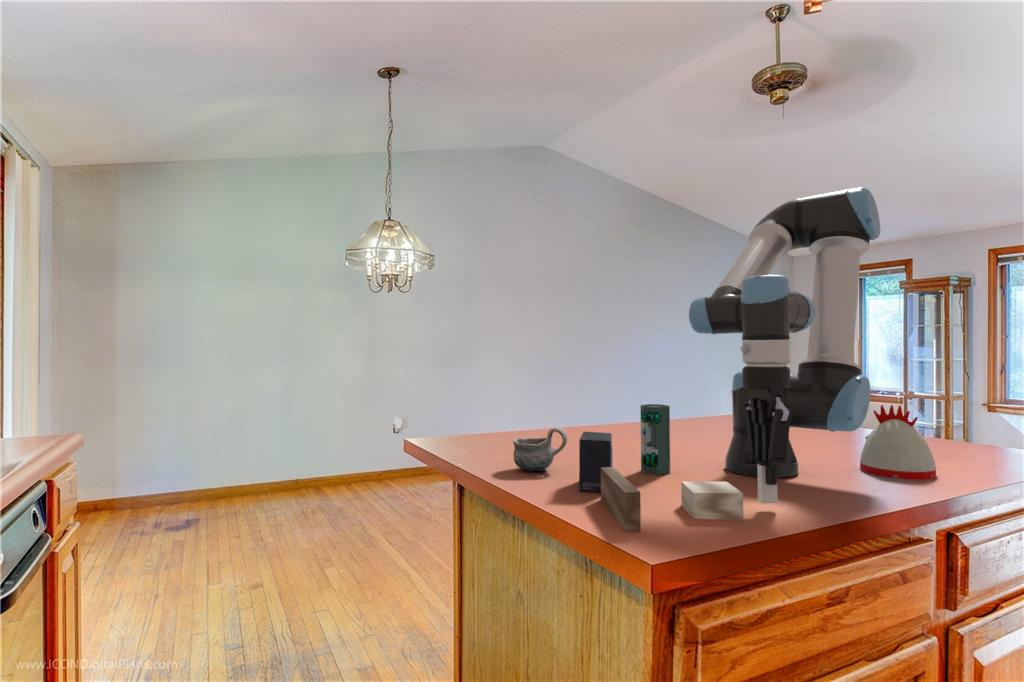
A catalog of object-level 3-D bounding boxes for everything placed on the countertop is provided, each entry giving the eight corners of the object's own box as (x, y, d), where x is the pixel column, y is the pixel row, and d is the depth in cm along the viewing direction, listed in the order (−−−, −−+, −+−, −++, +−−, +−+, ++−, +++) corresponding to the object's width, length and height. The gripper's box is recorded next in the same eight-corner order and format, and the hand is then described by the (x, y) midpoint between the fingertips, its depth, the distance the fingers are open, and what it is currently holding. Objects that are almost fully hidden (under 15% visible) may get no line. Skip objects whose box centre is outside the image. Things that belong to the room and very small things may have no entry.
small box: (612, 494, 108) (611, 439, 108) (578, 492, 109) (577, 438, 109) (613, 481, 118) (612, 431, 118) (582, 479, 120) (582, 431, 120)
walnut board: (613, 499, 104) (613, 467, 104) (640, 531, 86) (640, 492, 86) (600, 499, 104) (600, 467, 104) (625, 531, 86) (624, 492, 86)
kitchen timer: (868, 463, 134) (867, 400, 134) (940, 471, 124) (938, 404, 124) (853, 473, 124) (852, 405, 124) (930, 483, 114) (928, 410, 114)
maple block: (727, 506, 99) (726, 481, 99) (743, 520, 91) (743, 493, 91) (681, 506, 100) (681, 481, 100) (694, 520, 92) (693, 493, 92)
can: (638, 469, 129) (637, 404, 129) (663, 468, 130) (662, 404, 130) (647, 475, 123) (646, 407, 123) (673, 474, 124) (673, 406, 124)
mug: (513, 465, 134) (513, 424, 134) (565, 465, 134) (565, 424, 134) (512, 474, 125) (512, 430, 125) (568, 474, 124) (568, 429, 124)
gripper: (728, 364, 103) (729, 492, 102) (763, 366, 90) (765, 513, 89) (767, 364, 103) (769, 491, 103) (808, 366, 90) (810, 512, 90)
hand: (767, 502), depth 96 cm, fingers closed
